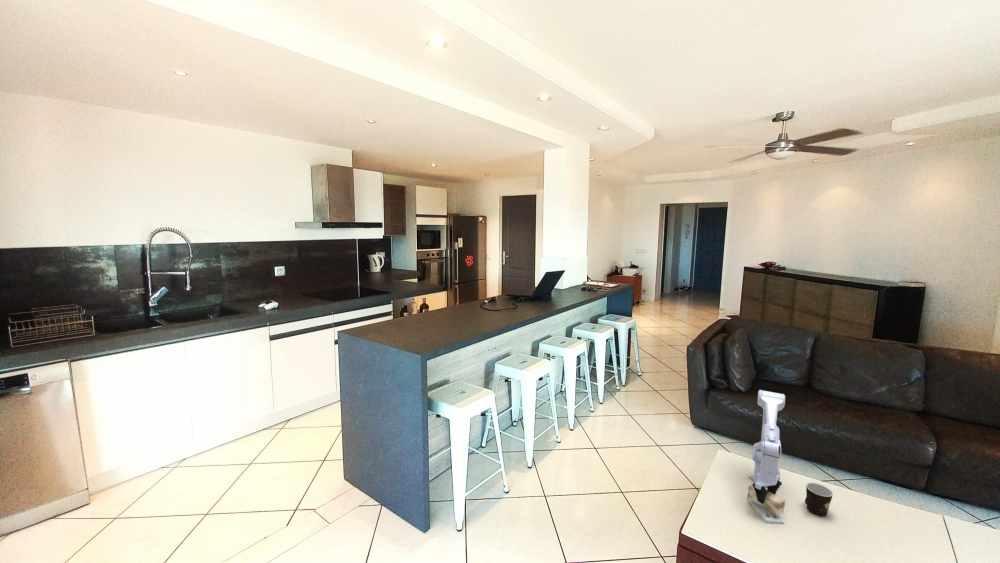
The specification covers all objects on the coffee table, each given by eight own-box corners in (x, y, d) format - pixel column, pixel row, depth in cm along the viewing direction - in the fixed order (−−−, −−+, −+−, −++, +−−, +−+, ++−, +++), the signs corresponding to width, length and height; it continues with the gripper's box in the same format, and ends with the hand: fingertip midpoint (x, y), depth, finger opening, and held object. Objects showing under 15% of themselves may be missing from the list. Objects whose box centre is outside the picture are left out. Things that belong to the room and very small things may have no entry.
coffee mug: (820, 504, 167) (823, 483, 165) (835, 519, 158) (838, 497, 157) (791, 502, 168) (793, 481, 166) (804, 517, 159) (807, 495, 158)
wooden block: (783, 511, 159) (785, 500, 158) (777, 515, 157) (779, 504, 156) (753, 493, 169) (754, 483, 168) (747, 496, 167) (748, 486, 166)
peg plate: (746, 498, 170) (747, 492, 170) (763, 499, 170) (764, 493, 169) (765, 522, 157) (766, 516, 156) (783, 524, 156) (784, 517, 156)
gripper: (768, 459, 167) (765, 487, 169) (748, 468, 161) (745, 498, 163) (786, 467, 161) (783, 497, 163) (766, 478, 155) (763, 509, 156)
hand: (765, 499), depth 162 cm, fingers open, 7 cm apart
